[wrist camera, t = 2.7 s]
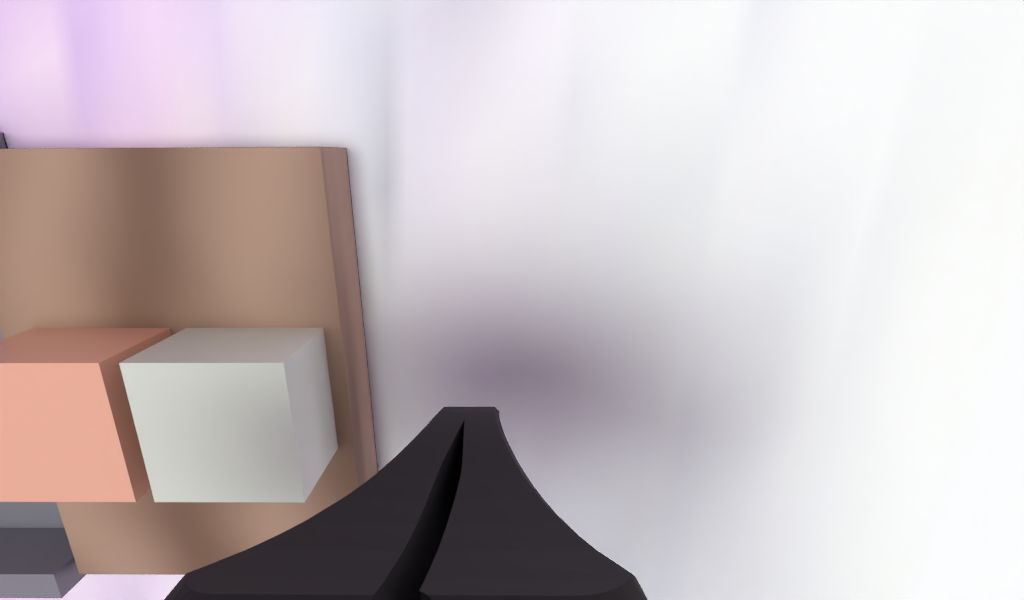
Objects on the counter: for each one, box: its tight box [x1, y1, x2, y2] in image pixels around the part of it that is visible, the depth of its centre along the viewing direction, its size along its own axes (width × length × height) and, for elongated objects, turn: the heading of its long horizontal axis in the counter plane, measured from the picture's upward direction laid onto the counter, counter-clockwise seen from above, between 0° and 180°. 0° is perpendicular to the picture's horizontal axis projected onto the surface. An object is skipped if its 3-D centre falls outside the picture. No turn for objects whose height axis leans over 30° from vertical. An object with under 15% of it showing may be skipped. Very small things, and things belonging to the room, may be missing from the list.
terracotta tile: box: [0, 328, 171, 502], centre depth 14 cm, size 4×4×2 cm
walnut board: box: [0, 147, 378, 574], centre depth 16 cm, size 10×14×2 cm
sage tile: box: [119, 328, 338, 502], centre depth 13 cm, size 4×4×2 cm
